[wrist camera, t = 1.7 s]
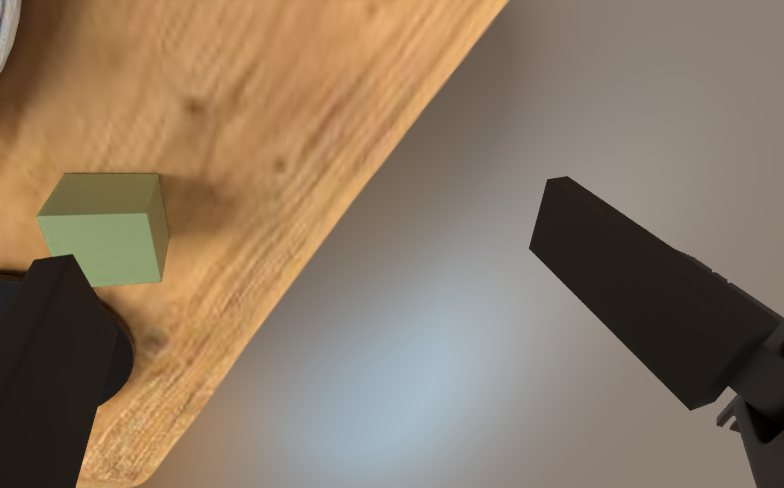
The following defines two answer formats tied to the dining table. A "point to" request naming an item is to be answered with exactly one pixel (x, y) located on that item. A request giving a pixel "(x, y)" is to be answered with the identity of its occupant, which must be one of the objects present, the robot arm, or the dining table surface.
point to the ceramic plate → (8, 27)
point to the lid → (123, 352)
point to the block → (109, 226)
